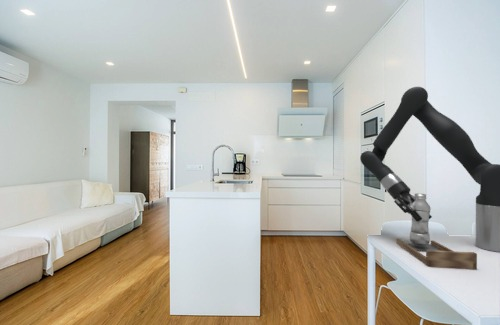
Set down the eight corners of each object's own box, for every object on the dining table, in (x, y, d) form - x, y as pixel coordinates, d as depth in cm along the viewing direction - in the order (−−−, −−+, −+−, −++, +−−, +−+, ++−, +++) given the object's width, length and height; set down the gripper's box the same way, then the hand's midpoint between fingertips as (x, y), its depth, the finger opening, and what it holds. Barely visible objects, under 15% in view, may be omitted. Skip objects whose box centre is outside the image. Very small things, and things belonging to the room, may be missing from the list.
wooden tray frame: (433, 245, 97) (433, 233, 97) (476, 269, 75) (476, 253, 75) (396, 243, 99) (396, 231, 99) (428, 266, 77) (428, 251, 77)
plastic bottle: (405, 241, 97) (406, 192, 97) (422, 241, 97) (423, 193, 97) (416, 247, 91) (417, 195, 91) (434, 247, 91) (435, 195, 91)
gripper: (390, 181, 97) (422, 216, 87) (411, 180, 104) (442, 212, 93) (378, 192, 102) (406, 226, 92) (398, 190, 109) (427, 222, 98)
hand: (424, 219), depth 93 cm, fingers closed on plastic bottle, 6 cm apart
